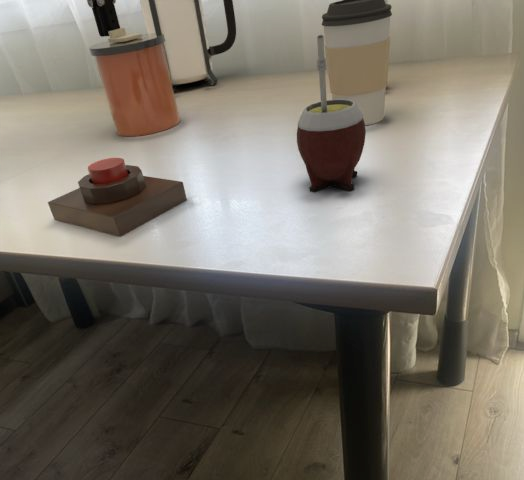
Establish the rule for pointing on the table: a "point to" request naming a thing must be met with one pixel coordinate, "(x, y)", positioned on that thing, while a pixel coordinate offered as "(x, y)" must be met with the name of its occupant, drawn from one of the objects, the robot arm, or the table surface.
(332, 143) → the mate gourd
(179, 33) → the coffee press
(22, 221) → the table surface
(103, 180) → the button
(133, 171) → the button base
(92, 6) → the robot arm
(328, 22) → the coffee cup
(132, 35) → the slider
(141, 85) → the tumbler
